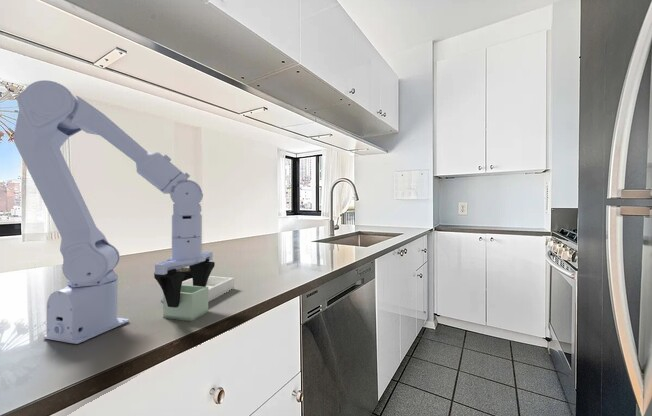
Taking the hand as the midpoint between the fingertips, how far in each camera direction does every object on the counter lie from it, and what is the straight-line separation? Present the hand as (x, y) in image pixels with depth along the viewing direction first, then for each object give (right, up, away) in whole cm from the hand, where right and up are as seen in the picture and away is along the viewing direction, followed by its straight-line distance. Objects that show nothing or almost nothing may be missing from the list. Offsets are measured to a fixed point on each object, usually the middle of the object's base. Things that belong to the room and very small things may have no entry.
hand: (186, 300), depth 59 cm
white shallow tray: (-3, -3, +13) cm, 14 cm away
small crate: (0, -3, 0) cm, 3 cm away
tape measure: (-14, -3, +27) cm, 30 cm away
